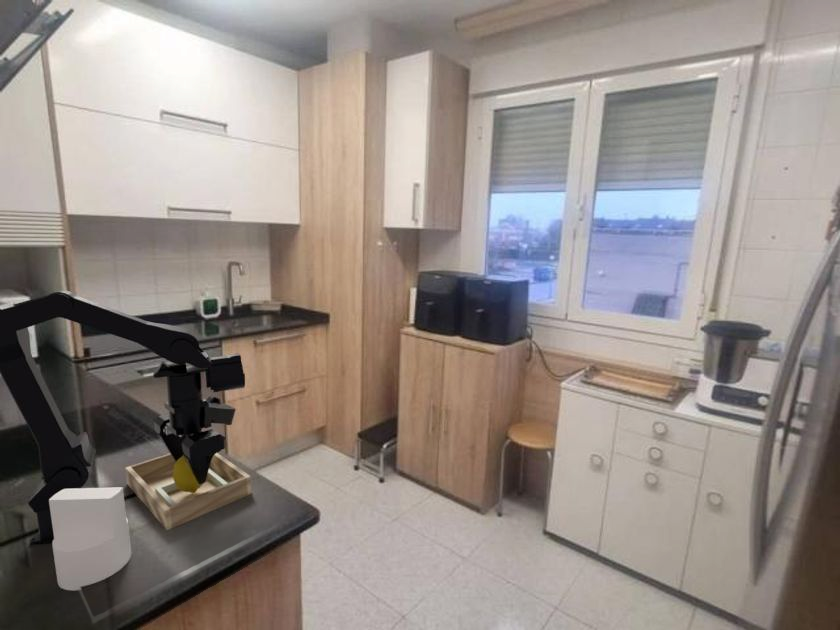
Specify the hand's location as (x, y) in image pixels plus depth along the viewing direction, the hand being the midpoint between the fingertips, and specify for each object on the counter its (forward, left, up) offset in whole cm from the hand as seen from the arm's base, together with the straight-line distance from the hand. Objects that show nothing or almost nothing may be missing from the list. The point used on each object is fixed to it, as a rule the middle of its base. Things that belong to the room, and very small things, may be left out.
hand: (192, 474), depth 84 cm
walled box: (+2, +2, -4) cm, 5 cm away
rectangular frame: (0, 0, -4) cm, 4 cm away
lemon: (0, 0, -4) cm, 4 cm away
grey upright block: (-17, +9, -5) cm, 20 cm away
